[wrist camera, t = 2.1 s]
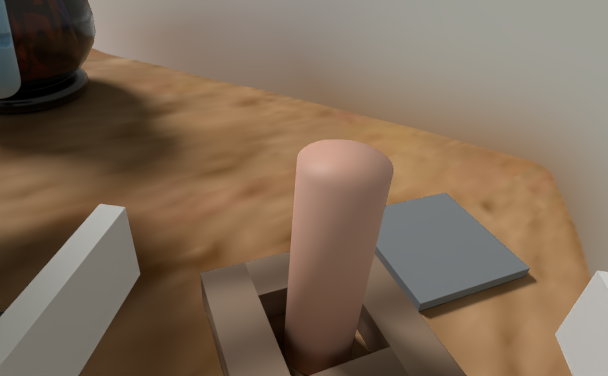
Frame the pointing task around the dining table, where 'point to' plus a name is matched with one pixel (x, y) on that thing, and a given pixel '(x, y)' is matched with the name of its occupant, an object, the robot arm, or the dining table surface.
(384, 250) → the slate mat
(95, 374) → the dining table surface
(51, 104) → the amphora vase
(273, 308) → the walnut pocket block
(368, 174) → the terracotta peg
